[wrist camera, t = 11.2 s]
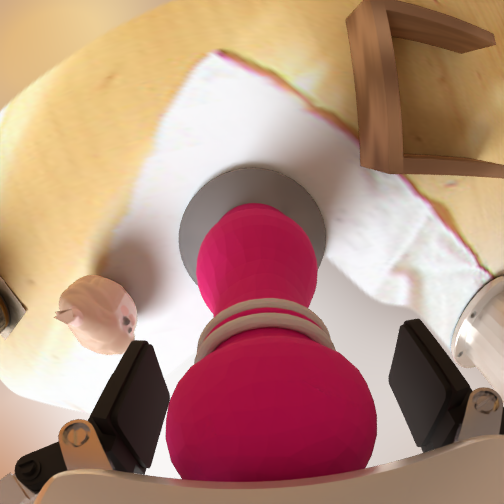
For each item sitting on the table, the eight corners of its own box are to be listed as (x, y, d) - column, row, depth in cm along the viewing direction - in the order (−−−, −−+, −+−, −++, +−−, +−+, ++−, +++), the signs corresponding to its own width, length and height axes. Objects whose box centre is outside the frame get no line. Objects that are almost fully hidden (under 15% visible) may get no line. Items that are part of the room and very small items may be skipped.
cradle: (470, 169, 21) (507, 178, 16) (360, 166, 21) (389, 174, 16) (459, 44, 17) (493, 34, 12) (345, 19, 17) (368, -6, 12)
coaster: (348, 208, 22) (350, 209, 21) (283, 321, 25) (283, 325, 25) (214, 143, 20) (213, 143, 20) (161, 273, 24) (159, 276, 23)
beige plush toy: (153, 281, 24) (120, 338, 16) (140, 338, 26) (113, 398, 19) (85, 255, 23) (34, 299, 16) (79, 312, 25) (39, 364, 18)
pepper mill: (185, 232, 22) (52, 518, 3) (267, 175, 20) (427, 463, 2) (242, 303, 24) (244, 576, 5) (320, 255, 23) (454, 516, 4)
